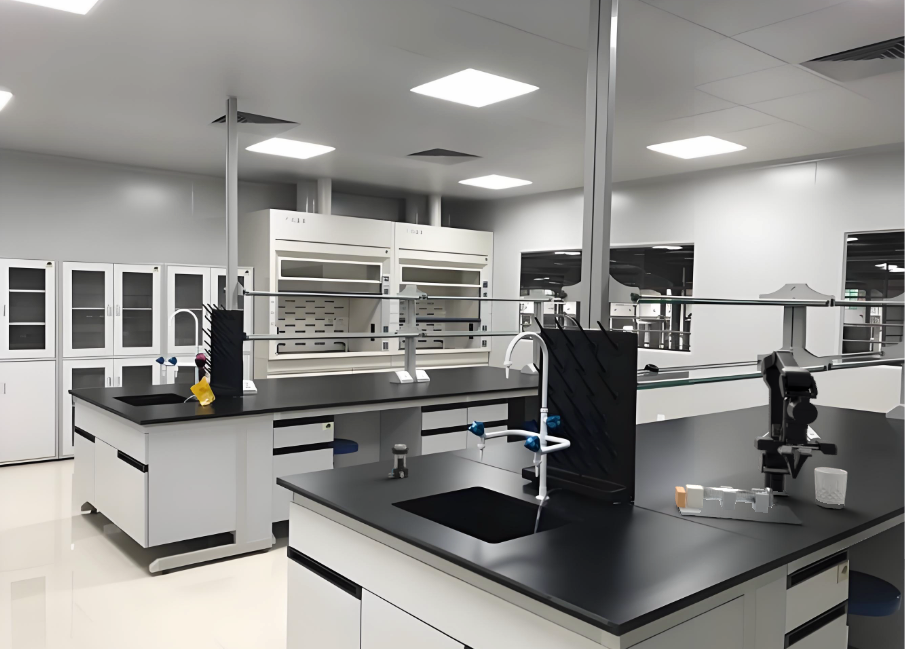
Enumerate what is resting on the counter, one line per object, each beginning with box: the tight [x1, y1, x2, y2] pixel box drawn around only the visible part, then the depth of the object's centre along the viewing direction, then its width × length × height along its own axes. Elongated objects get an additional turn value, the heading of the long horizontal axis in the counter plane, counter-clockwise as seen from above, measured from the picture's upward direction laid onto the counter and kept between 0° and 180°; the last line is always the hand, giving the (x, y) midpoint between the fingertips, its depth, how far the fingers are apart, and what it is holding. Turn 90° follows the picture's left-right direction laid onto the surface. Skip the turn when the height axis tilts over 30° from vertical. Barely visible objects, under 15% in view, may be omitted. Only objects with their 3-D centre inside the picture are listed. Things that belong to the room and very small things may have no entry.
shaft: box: [702, 486, 774, 508], centre depth 178 cm, size 5×17×5 cm, turn 77°
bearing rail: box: [674, 485, 769, 513], centre depth 178 cm, size 14×30×6 cm, turn 77°
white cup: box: [814, 466, 848, 505], centre depth 185 cm, size 8×8×10 cm
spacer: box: [685, 483, 704, 508], centre depth 180 cm, size 4×4×5 cm
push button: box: [388, 443, 410, 479], centre depth 208 cm, size 7×5×10 cm
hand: (793, 478), depth 174 cm, fingers closed
